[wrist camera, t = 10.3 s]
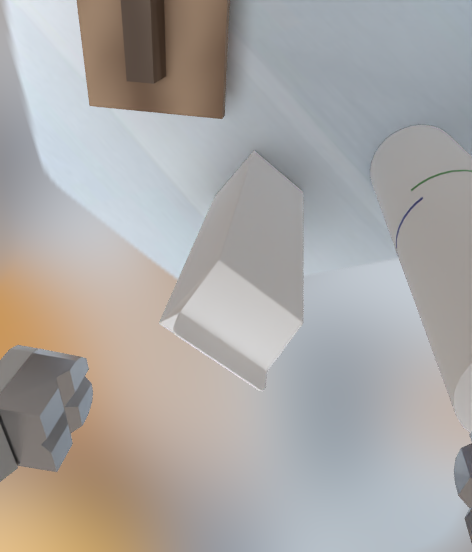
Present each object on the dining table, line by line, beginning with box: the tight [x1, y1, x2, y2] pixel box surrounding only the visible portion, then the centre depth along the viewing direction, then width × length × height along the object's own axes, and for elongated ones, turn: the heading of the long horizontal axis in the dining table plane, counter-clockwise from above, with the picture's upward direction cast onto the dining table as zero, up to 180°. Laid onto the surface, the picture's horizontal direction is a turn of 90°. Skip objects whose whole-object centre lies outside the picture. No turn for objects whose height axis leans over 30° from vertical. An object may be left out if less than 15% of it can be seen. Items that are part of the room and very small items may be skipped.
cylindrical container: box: [370, 125, 472, 433], centre depth 26 cm, size 7×7×25 cm
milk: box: [159, 151, 303, 391], centre depth 31 cm, size 6×6×22 cm
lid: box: [77, 0, 230, 119], centre depth 28 cm, size 10×10×4 cm
